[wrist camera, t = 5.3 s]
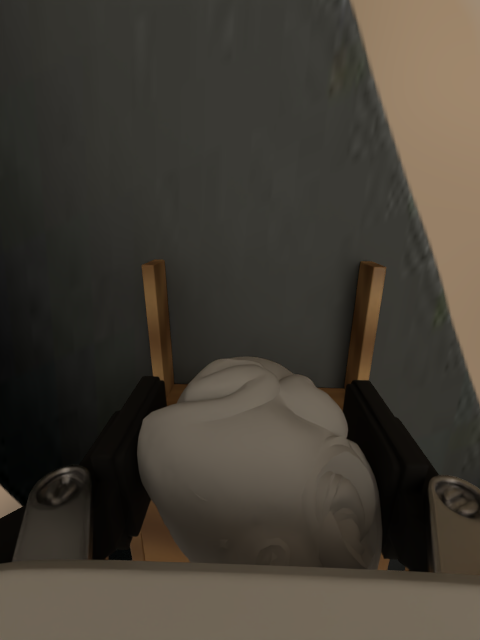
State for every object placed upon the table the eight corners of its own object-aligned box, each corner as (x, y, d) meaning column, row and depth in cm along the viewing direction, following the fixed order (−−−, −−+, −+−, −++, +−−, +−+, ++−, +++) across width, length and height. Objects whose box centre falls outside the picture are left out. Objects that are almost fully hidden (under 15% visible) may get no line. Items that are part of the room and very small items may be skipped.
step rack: (153, 259, 21) (65, 296, 11) (372, 261, 21) (479, 302, 11) (173, 478, 28) (128, 622, 18) (340, 485, 27) (389, 639, 17)
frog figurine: (278, 476, 14) (302, 714, 7) (143, 403, 13) (31, 607, 6) (367, 382, 12) (505, 587, 6) (219, 287, 11) (172, 403, 4)
